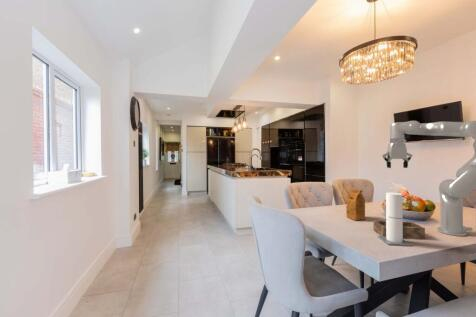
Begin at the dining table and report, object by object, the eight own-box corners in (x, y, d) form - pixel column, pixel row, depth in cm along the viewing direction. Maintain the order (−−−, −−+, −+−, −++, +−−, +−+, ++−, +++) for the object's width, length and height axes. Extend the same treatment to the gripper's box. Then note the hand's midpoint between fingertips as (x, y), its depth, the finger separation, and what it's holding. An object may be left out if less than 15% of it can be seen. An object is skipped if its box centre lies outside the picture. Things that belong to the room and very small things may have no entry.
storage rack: (411, 231, 130) (411, 221, 130) (425, 238, 119) (424, 228, 119) (373, 230, 134) (373, 220, 133) (382, 237, 122) (382, 226, 122)
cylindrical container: (395, 243, 111) (395, 195, 111) (383, 238, 118) (382, 192, 118) (406, 241, 113) (405, 194, 113) (392, 236, 120) (392, 192, 120)
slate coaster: (399, 238, 120) (399, 236, 120) (412, 246, 109) (412, 244, 109) (378, 237, 122) (378, 235, 122) (388, 245, 111) (388, 243, 111)
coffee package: (356, 216, 166) (356, 187, 166) (367, 220, 153) (367, 190, 153) (344, 216, 165) (343, 187, 165) (354, 221, 153) (353, 190, 153)
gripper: (408, 141, 142) (408, 167, 142) (379, 142, 145) (379, 167, 145) (415, 140, 135) (415, 168, 135) (385, 141, 138) (385, 168, 138)
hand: (397, 167), depth 140 cm, fingers open, 9 cm apart
